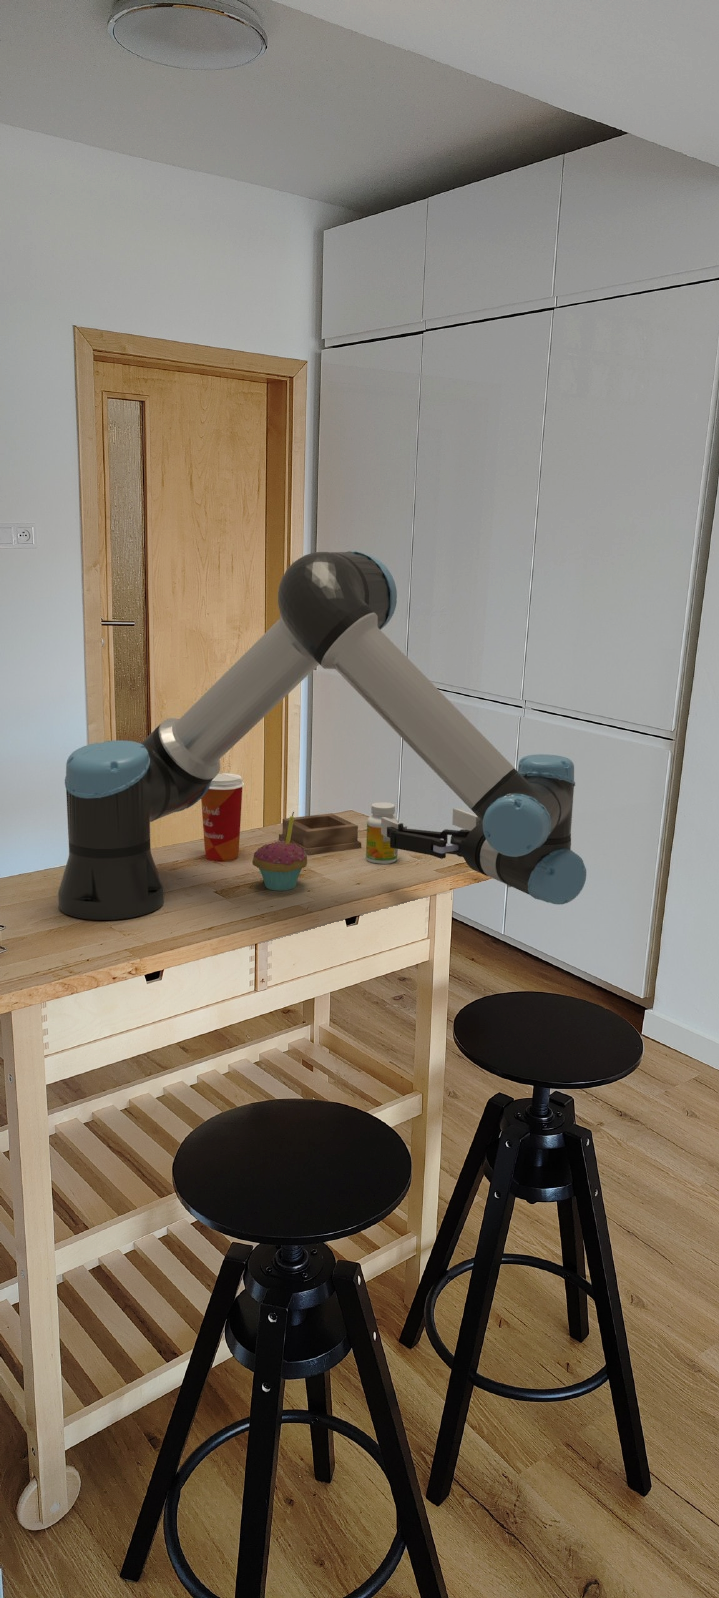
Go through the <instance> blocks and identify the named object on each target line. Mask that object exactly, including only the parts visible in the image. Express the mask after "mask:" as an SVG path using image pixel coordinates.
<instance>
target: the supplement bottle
mask: <svg viewBox="0 0 719 1598" xmlns="http://www.w3.org/2000/svg"><path fill="white" fill-rule="evenodd" d="M395 805H396V804H393V803H392V802H382V801H380V802H373V803H372V804H371V814H372V815H370V816H369V817H368V818H367V819H366V845H365V846H366V849H365V851H366V852H365V859H366V860H367V862H369V863H372V864H377V865H379V864H380V865H387V864H388V865H389V864H393V863H395V862H396V861H397V860H398V850H399V849H395V848H391V847H390V838H388V837H386V836H384V835H382V834H381V818H382V817H386V818H389V819H391V820H393V821H396V822H398V823H399V819H398V818H397V817H396V816H395V814H396V806H395Z"/></svg>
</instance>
